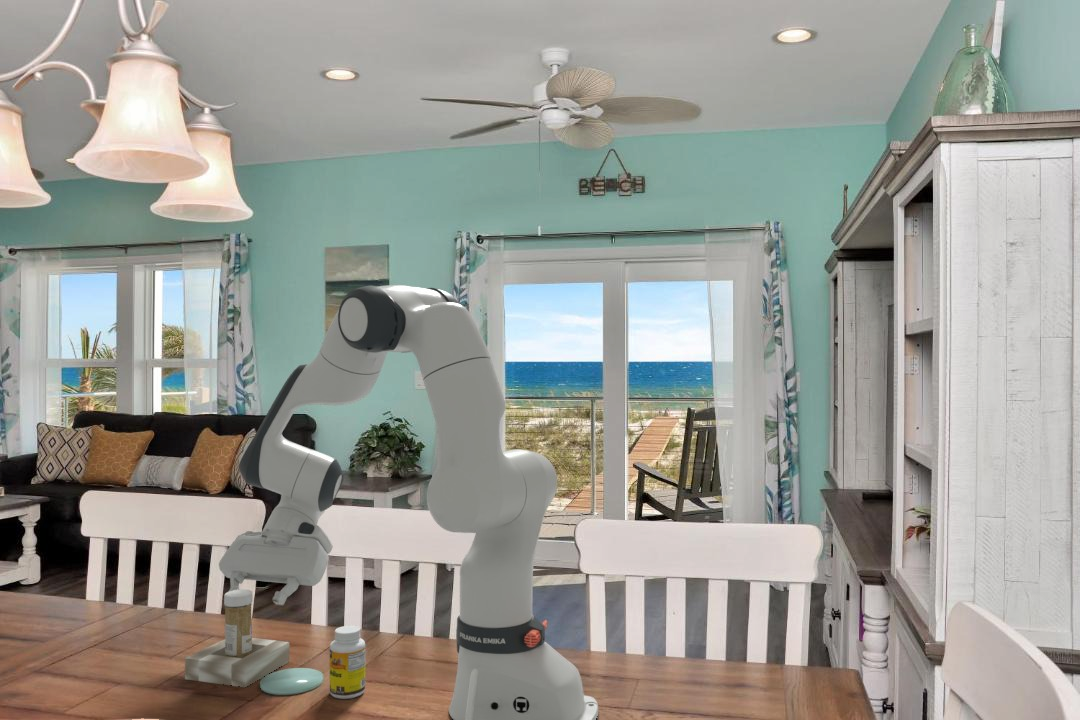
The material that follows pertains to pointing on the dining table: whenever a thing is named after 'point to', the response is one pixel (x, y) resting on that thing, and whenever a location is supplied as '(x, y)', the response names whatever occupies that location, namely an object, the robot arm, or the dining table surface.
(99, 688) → the dining table surface
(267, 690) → the coaster
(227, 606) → the sprinkles bottle
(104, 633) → the dining table surface
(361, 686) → the supplement bottle
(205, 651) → the bore block
